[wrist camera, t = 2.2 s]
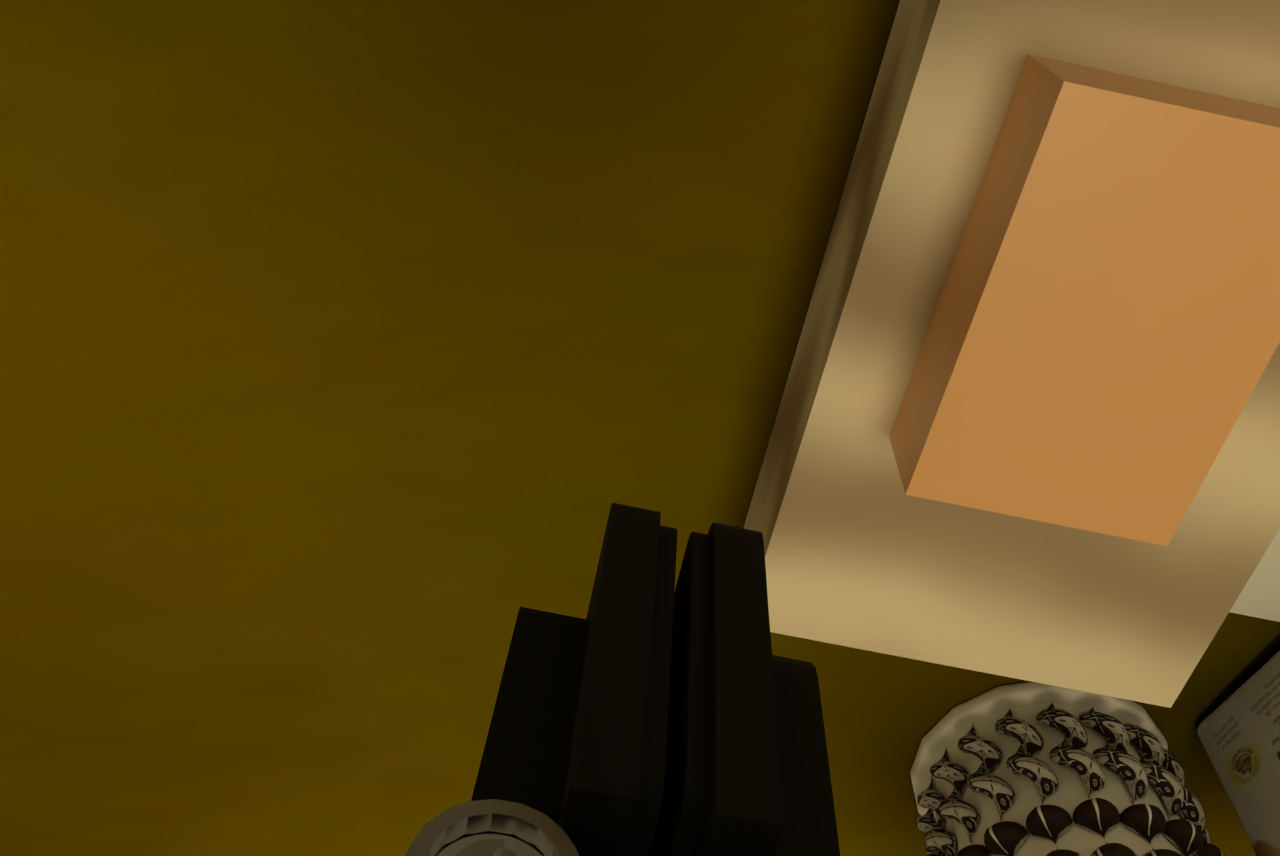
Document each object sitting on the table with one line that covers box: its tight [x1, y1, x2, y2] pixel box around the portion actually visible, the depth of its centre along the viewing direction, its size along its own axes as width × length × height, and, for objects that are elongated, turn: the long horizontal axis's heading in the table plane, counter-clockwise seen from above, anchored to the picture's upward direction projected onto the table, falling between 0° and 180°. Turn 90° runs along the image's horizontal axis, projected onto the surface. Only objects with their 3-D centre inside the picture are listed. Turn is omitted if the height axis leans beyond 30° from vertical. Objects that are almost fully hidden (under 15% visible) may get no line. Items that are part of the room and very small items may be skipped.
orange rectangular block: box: [889, 54, 1280, 546], centre depth 22 cm, size 9×6×2 cm, turn 169°
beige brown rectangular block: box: [743, 0, 1280, 708], centre depth 25 cm, size 22×12×4 cm, turn 169°
